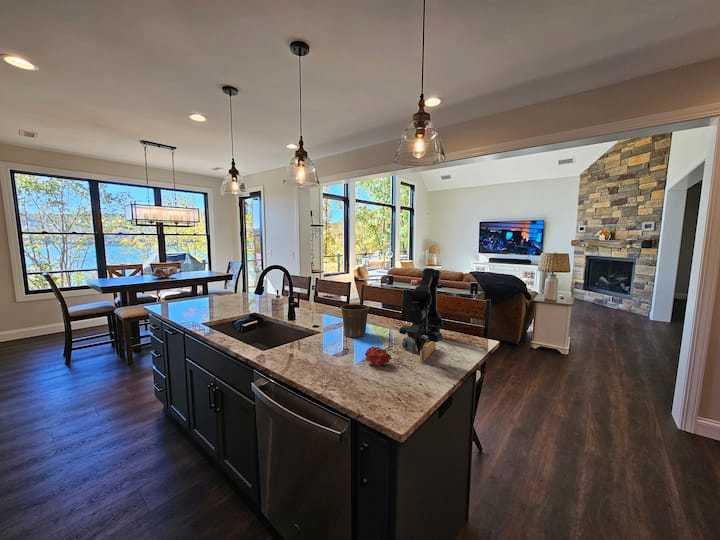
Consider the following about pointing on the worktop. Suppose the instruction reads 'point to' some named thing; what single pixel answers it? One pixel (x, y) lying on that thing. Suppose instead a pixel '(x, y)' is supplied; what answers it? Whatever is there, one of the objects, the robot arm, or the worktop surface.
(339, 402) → the worktop surface
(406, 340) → the action camera body
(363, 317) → the plant pot
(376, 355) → the dragon fruit
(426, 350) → the side door
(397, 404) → the worktop surface
